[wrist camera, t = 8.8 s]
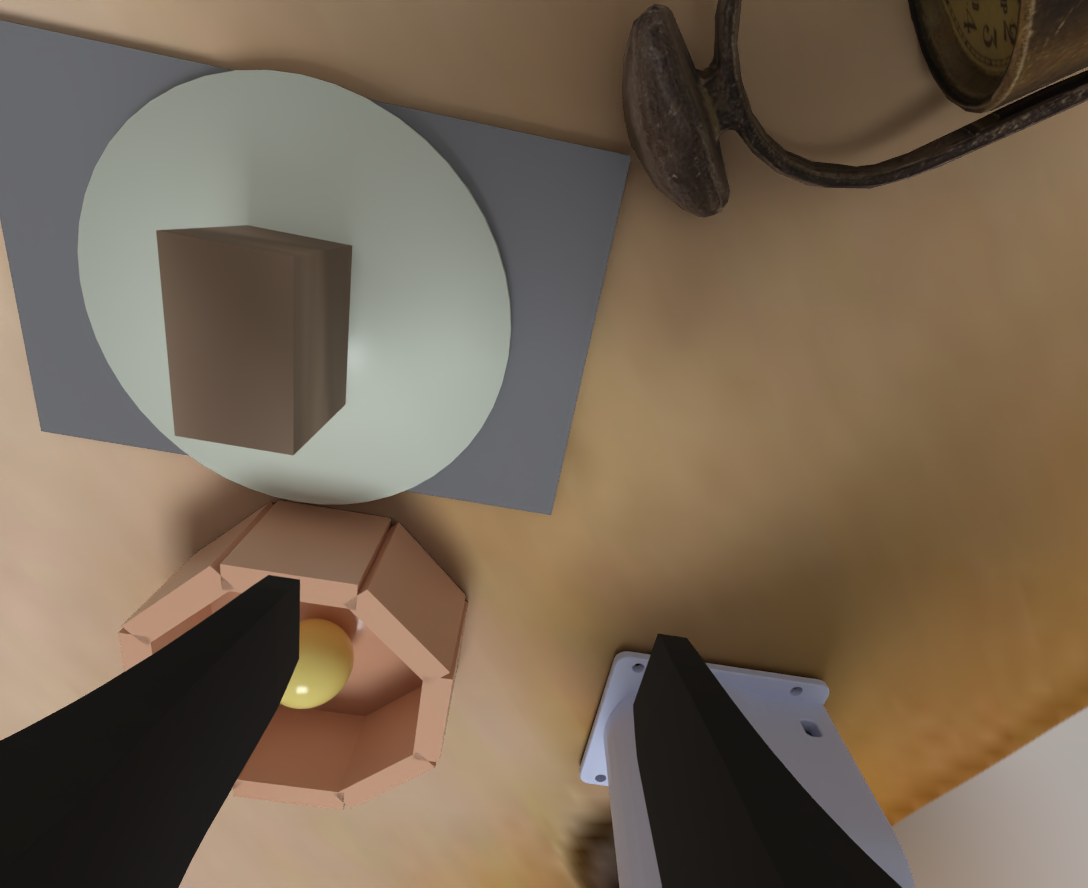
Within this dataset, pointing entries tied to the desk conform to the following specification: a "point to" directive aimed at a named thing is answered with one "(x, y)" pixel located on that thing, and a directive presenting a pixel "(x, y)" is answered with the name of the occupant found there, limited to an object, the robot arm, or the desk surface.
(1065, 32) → the dark brown handled piece
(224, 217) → the lid
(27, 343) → the mat
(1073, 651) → the desk surface
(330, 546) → the bowl
